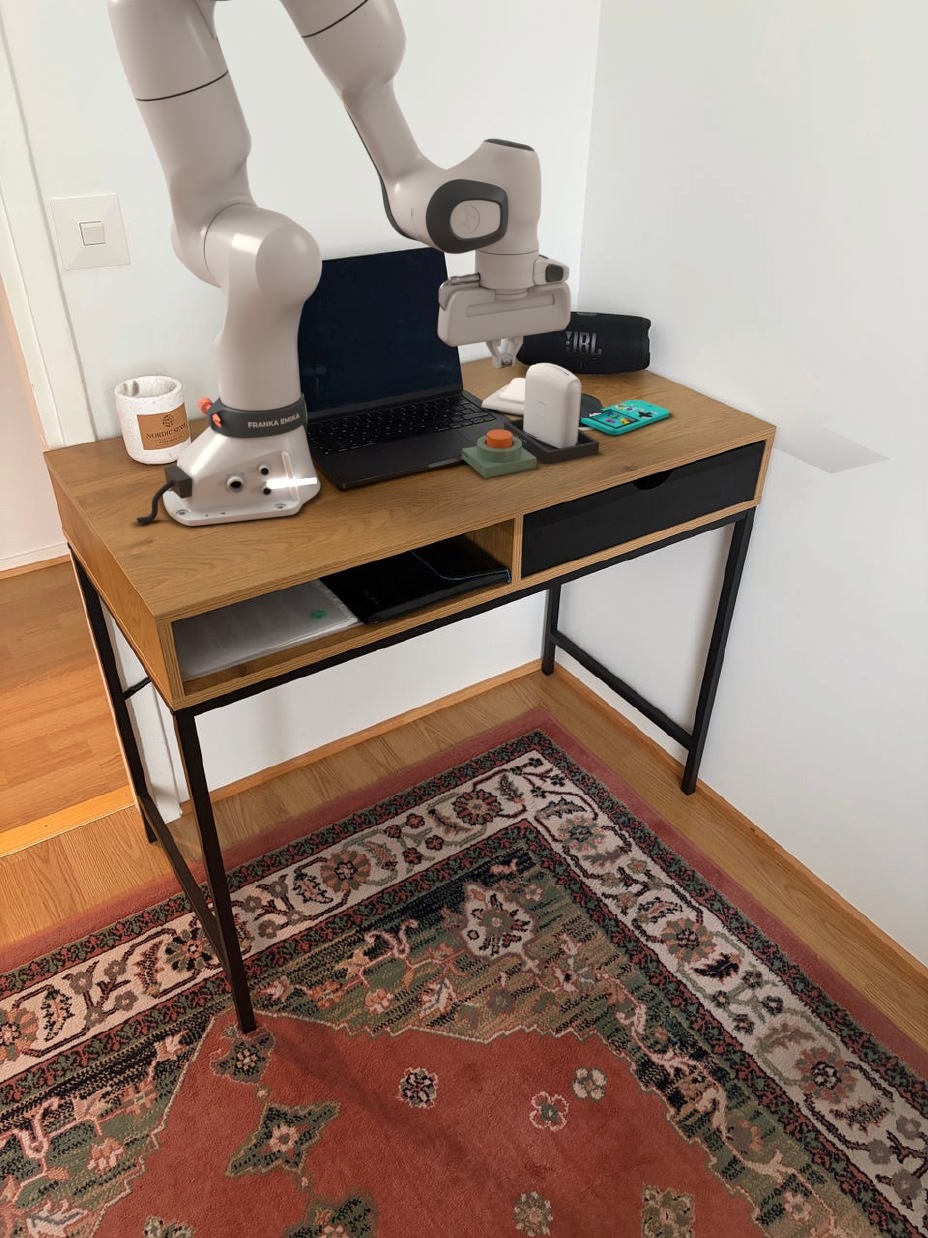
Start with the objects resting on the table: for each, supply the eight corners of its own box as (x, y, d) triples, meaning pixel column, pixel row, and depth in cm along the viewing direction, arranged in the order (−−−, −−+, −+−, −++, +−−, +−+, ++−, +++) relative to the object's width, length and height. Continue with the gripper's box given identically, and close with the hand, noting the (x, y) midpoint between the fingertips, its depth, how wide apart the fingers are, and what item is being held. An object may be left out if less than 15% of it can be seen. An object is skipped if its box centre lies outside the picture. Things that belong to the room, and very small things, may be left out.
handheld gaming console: (672, 409, 160) (615, 430, 152) (671, 415, 160) (614, 436, 152) (635, 396, 165) (578, 416, 157) (635, 402, 166) (578, 421, 157)
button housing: (485, 478, 138) (485, 456, 136) (462, 458, 144) (462, 438, 142) (536, 467, 142) (537, 446, 140) (511, 449, 147) (512, 428, 146)
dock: (546, 464, 143) (547, 452, 142) (503, 432, 153) (504, 421, 152) (598, 453, 146) (599, 442, 145) (552, 423, 157) (553, 412, 156)
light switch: (563, 379, 166) (540, 397, 156) (561, 401, 168) (538, 420, 158) (508, 370, 169) (482, 387, 159) (507, 392, 171) (481, 410, 161)
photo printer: (518, 433, 152) (522, 360, 145) (537, 427, 154) (541, 355, 147) (561, 453, 145) (567, 377, 138) (580, 446, 147) (587, 372, 140)
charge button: (494, 451, 139) (494, 440, 138) (482, 442, 142) (482, 431, 141) (516, 447, 140) (517, 436, 139) (504, 438, 143) (505, 427, 142)
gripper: (449, 283, 120) (449, 384, 128) (579, 266, 128) (572, 363, 136) (429, 272, 125) (431, 370, 133) (556, 257, 132) (550, 350, 140)
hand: (503, 366), depth 134 cm, fingers closed
